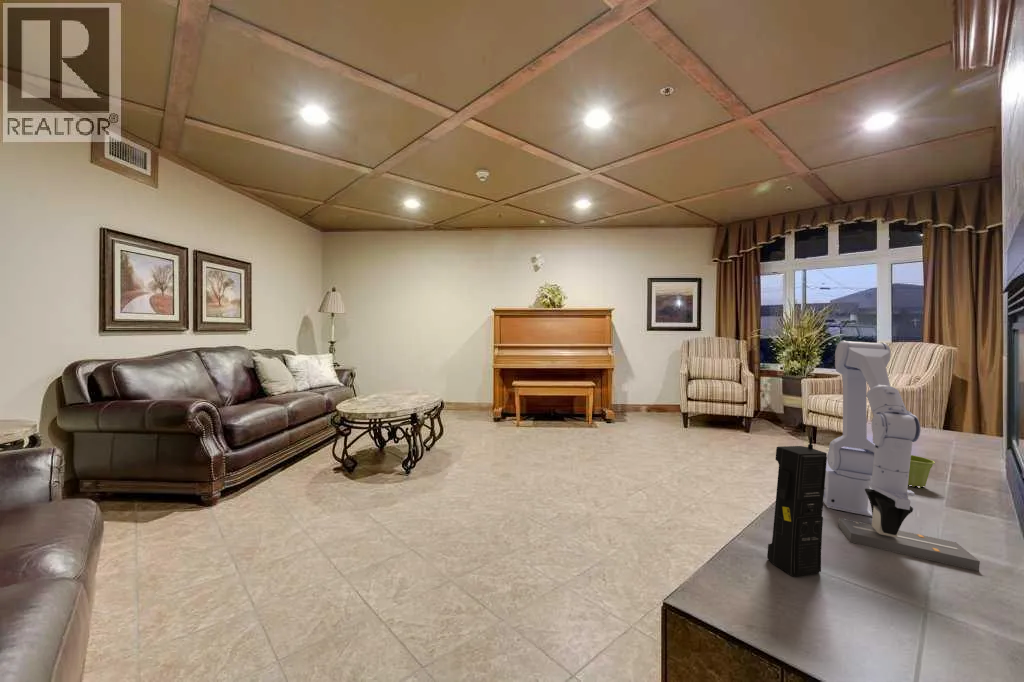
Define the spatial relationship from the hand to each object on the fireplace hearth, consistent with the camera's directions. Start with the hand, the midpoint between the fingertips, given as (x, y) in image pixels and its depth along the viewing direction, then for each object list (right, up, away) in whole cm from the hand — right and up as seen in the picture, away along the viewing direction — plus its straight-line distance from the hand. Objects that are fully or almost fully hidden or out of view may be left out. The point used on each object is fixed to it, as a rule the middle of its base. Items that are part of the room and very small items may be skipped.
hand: (884, 528), depth 87 cm
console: (+3, -3, -1) cm, 4 cm away
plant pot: (+45, -5, +39) cm, 59 cm away
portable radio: (-29, -2, -12) cm, 31 cm away
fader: (0, -1, 0) cm, 1 cm away
